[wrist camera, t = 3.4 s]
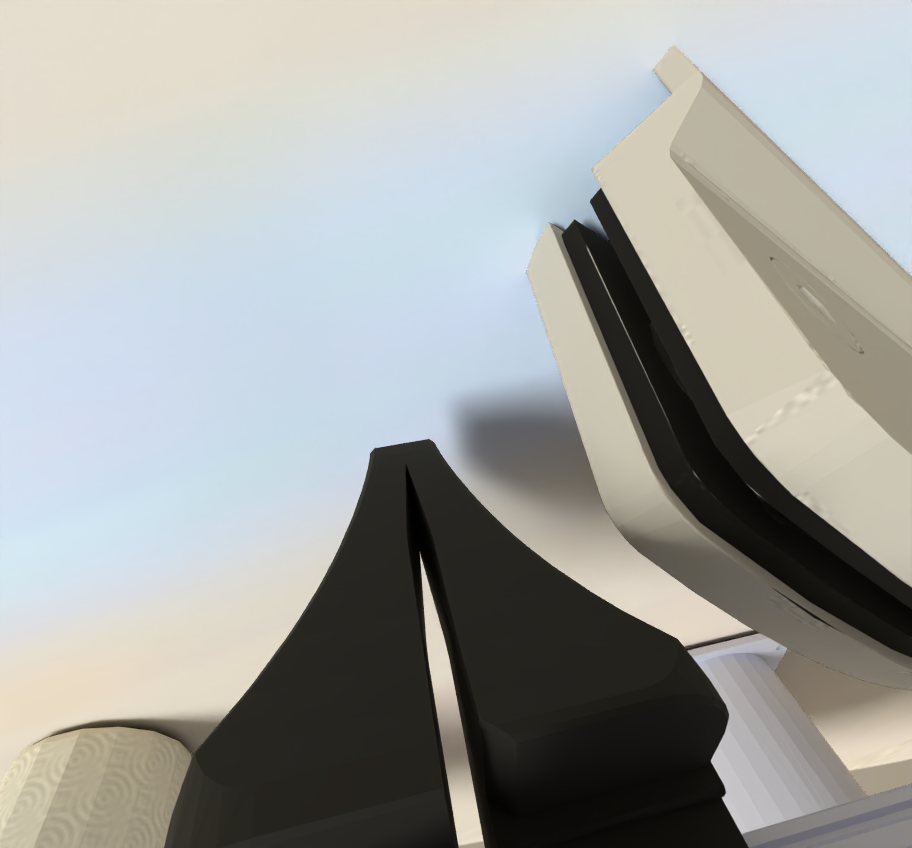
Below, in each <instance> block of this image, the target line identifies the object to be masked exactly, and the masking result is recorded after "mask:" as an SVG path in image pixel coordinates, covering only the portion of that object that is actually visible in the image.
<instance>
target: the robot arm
mask: <svg viewBox="0 0 912 848" xmlns="http://www.w3.org/2000/svg"><path fill="white" fill-rule="evenodd" d="M420 554H421V558H422V561H423V565H424V568H425V572H426V575H427V579H428V582H429V586H430V589H431V593H432V596H433V600H434V603H435V607H436V610H437V614H438V617H439V621H440V624H441V628H442V631H443V635H444V638H445V642H446V646H447V651H448V655H449V659H450V664H451V669H452V675H453V680H454V685H455V690H456V696H457V701H458V706H459V711H460V717H461V722H462V727H463V733H464V738H465V743H466V749H467V754H468V759H469V765H470V770H471V775H472V781H473V786H474V791H475V797H476V802H477V807H478V813H479V818H480V824H481V829H482V835H483V840H484V845H485V848H912V784H908V785H905V786H902V787H898V788H895V789H892V790H888V791H885V792H881V793H878V794H874V795H871V796H868V795H867V794H866V793H865V791H864V790H863V789H862V787H861V786H860V785H859V783H858V782H857V781H856V779H855V778H854V777H853V775H852V774H851V773H850V771H849V770H848V769H847V767H846V766H845V765H844V763H843V762H842V761H841V759H840V758H839V757H838V755H837V754H836V753H835V752H834V750H833V749H832V748H831V746H830V745H829V744H828V742H827V741H826V740H825V738H824V737H823V736H822V734H821V733H820V732H819V730H818V729H817V728H816V726H815V725H814V724H813V722H812V721H811V720H810V718H809V717H808V716H807V714H806V713H805V712H804V711H803V709H802V708H801V707H800V705H799V704H798V703H797V701H796V700H795V699H794V697H793V696H792V695H791V693H790V692H789V691H788V689H787V688H786V687H785V685H784V684H783V683H782V681H781V680H780V679H779V677H778V676H777V675H776V673H775V670H776V668H777V667H778V665H779V663H780V661H781V659H782V658H783V656H784V654H785V652H786V651H787V649H788V648H786V647H784V646H782V645H781V644H779V643H777V642H775V641H773V640H771V639H770V638H768V637H766V636H764V635H762V634H761V633H758V634H754V635H750V636H746V637H741V638H737V639H733V640H729V641H725V642H721V643H716V644H712V645H708V646H704V647H700V648H696V649H691V650H686V649H685V647H684V646H683V645H682V644H681V642H680V641H679V640H678V639H677V638H675V637H673V636H671V635H669V634H667V633H665V632H663V631H661V630H659V629H657V628H655V627H653V626H651V625H649V624H647V623H645V622H643V621H641V620H639V619H637V618H635V617H634V616H632V615H630V614H628V613H626V612H624V611H622V610H620V609H619V608H617V607H615V606H614V605H612V604H610V603H609V602H607V601H605V600H604V599H602V598H600V597H599V596H597V595H595V594H594V593H592V592H590V591H589V590H587V589H586V588H585V587H583V586H582V585H580V584H579V583H577V582H576V581H574V580H573V579H571V578H570V577H568V576H567V575H565V574H564V573H562V572H561V571H559V570H558V569H556V568H555V567H553V566H552V565H551V564H549V563H548V562H547V561H545V560H544V559H543V558H542V557H540V556H539V555H538V554H536V553H535V552H534V551H532V550H531V549H530V548H529V547H528V546H526V545H525V544H524V543H523V542H522V541H520V540H519V539H518V538H517V537H516V536H514V535H513V534H512V533H511V532H510V531H509V530H508V529H507V528H505V527H504V526H503V525H502V524H501V523H500V522H499V521H498V520H497V519H496V518H495V517H494V516H493V515H492V514H491V513H490V512H489V511H488V510H487V509H486V508H485V507H484V506H483V505H482V504H481V503H480V502H479V501H478V500H477V499H476V497H475V496H474V495H473V494H472V493H471V492H470V491H469V489H468V488H467V487H466V486H465V485H464V484H463V483H462V481H461V480H460V479H459V478H458V477H457V475H456V474H455V473H454V471H453V470H452V469H451V467H450V466H449V465H448V464H447V462H446V461H445V459H444V458H443V456H442V455H441V453H440V452H439V450H438V448H437V447H436V445H435V443H434V442H433V441H431V440H430V439H427V440H421V441H415V442H409V443H403V444H397V445H391V446H386V447H380V448H374V450H373V451H372V452H371V453H370V460H369V466H368V470H367V474H366V478H365V482H364V485H363V489H362V492H361V495H360V497H359V500H358V503H357V506H356V509H355V512H354V514H353V517H352V520H351V522H350V524H349V527H348V529H347V531H346V533H345V536H344V538H343V540H342V543H341V545H340V547H339V549H338V551H337V553H336V555H335V557H334V559H333V562H332V563H331V565H330V567H329V569H328V571H327V573H326V575H325V577H324V578H323V580H322V582H321V584H320V586H319V587H318V589H317V591H316V593H315V594H314V596H313V597H312V599H311V601H310V602H309V604H308V606H307V607H306V609H305V610H304V612H303V614H302V615H301V617H300V619H299V620H298V622H297V623H296V625H295V626H294V628H293V629H292V631H291V632H290V634H289V635H288V636H287V638H286V639H285V641H284V642H283V643H282V645H281V646H280V648H279V649H278V650H277V652H276V653H275V654H274V656H273V657H272V658H271V660H270V661H269V662H268V664H267V665H266V667H265V668H264V669H263V671H262V672H261V673H260V675H259V676H258V677H257V679H256V680H255V681H254V683H253V684H252V685H251V686H250V688H249V689H248V690H247V691H246V693H245V694H244V695H243V696H242V698H241V699H240V700H239V701H238V702H237V704H236V705H235V706H234V707H233V708H232V709H231V711H230V712H229V713H228V714H227V715H226V716H225V718H224V719H223V720H222V721H221V722H220V724H219V725H218V726H217V727H216V728H215V729H214V731H213V732H212V733H211V734H210V735H209V737H208V738H207V739H206V740H205V741H204V742H203V744H202V745H201V746H200V747H199V748H198V749H197V750H196V752H195V753H194V754H193V756H192V759H191V761H190V764H189V767H188V770H187V772H186V775H185V778H184V781H183V783H182V786H181V789H180V793H179V796H178V798H177V801H176V804H175V807H174V810H173V813H172V816H171V820H170V824H169V828H168V832H167V836H166V841H165V845H164V848H459V847H458V841H457V835H456V829H455V823H454V817H453V811H452V804H451V798H450V792H449V786H448V780H447V774H446V768H445V761H444V755H443V749H442V743H441V737H440V731H439V724H438V718H437V712H436V706H435V700H434V694H433V687H432V681H431V675H430V669H429V662H428V654H427V645H426V632H425V618H424V605H423V591H422V577H421V564H420Z"/></svg>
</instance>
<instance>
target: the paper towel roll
mask: <svg viewBox="0 0 912 848" xmlns="http://www.w3.org/2000/svg"><path fill="white" fill-rule="evenodd" d="M191 759H192V757H191V753H190V752H189V751H188V750H187V749H186V748H185V747H184V746H183V745H182V744H181V743H180V742H179V741H177V740H175V739H172V738H170V737H167V736H165V735H162V734H160V733H157V732H155V731H148V730H141V729H133V728H126V727H106V728H88V729H80V730H76V731H71V732H67V733H63V734H59V735H55V736H51V737H47V738H46V739H44V740H42V741H40V742H38V743H36V744H35V745H33V746H31V747H29V748H27V749H26V750H24V751H22V752H21V754H20V755H19V756H18V757H17V759H16V760H15V762H14V763H13V765H12V766H11V768H10V769H9V771H8V772H7V774H6V776H5V778H4V780H3V782H2V784H1V786H0V848H164V845H165V841H166V836H167V832H168V828H169V824H170V820H171V816H172V813H173V810H174V807H175V804H176V801H177V798H178V796H179V793H180V789H181V786H182V783H183V781H184V778H185V775H186V772H187V770H188V767H189V764H190V761H191Z"/></svg>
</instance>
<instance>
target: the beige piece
mask: <svg viewBox="0 0 912 848" xmlns="http://www.w3.org/2000/svg"><path fill="white" fill-rule="evenodd" d="M653 71H654V72H655V73H656V75H657V76H658V77H659V78H660V80H661V81H662V82H663V83H664V85H665V86H666V87H667V88H668V89H669V91H670V92H671V93H672V95H671V96H670V97H669V98H668V99H667V100H665V101H664V102H663V103H662V104H661V105H660V106H659V107H658V108H657V109H656V110H655V111H654V112H653V113H651V114H650V115H649V116H648V117H647V118H646V119H645V120H644V121H643V122H642V123H641V124H640V125H639V126H637V127H636V128H635V129H634V130H633V131H632V132H631V133H630V134H629V135H628V136H627V137H626V138H625V139H623V140H622V141H621V142H620V143H619V144H618V145H617V146H616V147H615V148H614V149H613V150H612V151H610V152H609V153H608V154H607V155H606V156H605V157H604V158H603V159H602V160H601V161H600V162H599V163H598V164H596V165H595V166H594V167H593V168H592V169H591V170H592V172H593V174H594V176H595V178H596V179H597V181H598V183H599V185H600V187H601V188H600V190H599V191H598V192H597V193H596V194H595V195H594V197H593V198H592V199H591V200H590V203H591V205H592V207H593V209H594V211H595V213H596V215H597V217H598V219H599V220H600V222H601V224H602V226H603V228H604V230H605V232H606V234H607V236H608V238H609V240H610V242H611V244H610V243H609V242H607V241H606V240H604V239H603V238H601V237H600V236H598V235H597V234H596V233H594V232H593V231H591V230H590V229H588V228H587V227H585V226H584V225H582V224H581V223H579V222H578V221H576V220H574V221H573V222H572V223H571V224H570V225H569V227H568V228H567V229H566V230H565V231H562V230H561V229H559V228H557V227H556V226H554V225H553V224H551V223H549V222H548V224H547V226H546V228H545V230H544V232H543V233H542V235H541V237H540V239H539V241H538V243H537V245H536V247H535V248H534V251H533V253H532V256H531V259H530V262H529V265H528V267H527V270H526V272H527V275H528V278H529V281H530V284H531V287H532V290H533V293H534V296H535V299H536V302H537V305H538V308H539V311H540V314H541V317H542V320H543V323H544V327H545V330H546V333H547V336H548V339H549V342H550V345H551V348H552V351H553V354H554V357H555V360H556V363H557V366H558V369H559V372H560V375H561V378H562V381H563V384H564V387H565V390H566V393H567V396H568V399H569V402H570V405H571V408H572V411H573V414H574V417H575V420H576V423H577V426H578V429H579V432H580V435H581V439H582V442H583V445H584V448H585V451H586V454H587V457H588V460H589V463H590V466H591V469H592V472H593V475H594V478H595V481H596V484H597V487H598V490H599V493H600V496H601V499H602V501H603V504H604V506H605V508H606V511H607V513H608V514H609V516H610V518H611V519H612V521H613V523H614V524H615V526H616V527H617V529H618V530H619V531H620V533H621V534H622V535H623V536H624V538H625V539H626V540H627V541H628V542H629V543H630V544H631V545H632V546H633V547H634V548H635V549H636V550H637V551H638V552H640V553H641V554H642V555H644V556H645V557H646V558H648V559H649V560H651V561H652V562H653V563H655V564H656V565H657V566H659V567H660V568H662V569H663V570H664V571H666V572H667V573H668V574H670V575H671V576H673V577H674V578H675V579H677V580H678V581H679V582H681V583H682V584H684V585H685V586H686V587H688V588H689V589H690V590H692V591H693V592H695V593H696V594H698V595H699V596H701V597H703V598H704V599H706V600H707V601H709V602H710V603H712V604H713V605H715V606H717V607H718V608H720V609H721V610H723V611H724V612H726V613H727V614H729V615H731V616H732V617H734V618H735V619H737V620H738V621H740V622H741V623H743V624H745V625H746V626H748V627H750V628H751V629H753V630H755V631H757V632H759V633H761V634H762V635H764V636H766V637H768V638H770V639H771V640H773V641H775V642H777V643H779V644H781V645H782V646H784V647H786V648H788V649H790V650H792V651H794V652H796V653H798V654H800V655H802V656H805V657H807V658H809V659H811V660H813V661H815V662H817V663H819V664H821V665H823V666H825V667H827V668H830V669H833V670H835V671H838V672H841V673H844V674H846V675H849V676H852V677H855V678H857V679H860V680H863V681H867V682H870V683H874V684H878V685H882V686H885V687H891V688H898V689H905V690H912V277H911V276H910V275H909V274H908V273H907V272H906V271H905V270H904V269H903V268H902V267H901V266H900V265H899V264H898V263H897V262H896V261H895V260H894V259H893V258H892V257H891V256H890V255H889V254H888V253H887V252H886V251H885V250H884V249H883V248H882V247H881V246H880V245H878V244H877V243H876V242H875V241H874V240H873V239H872V238H871V237H870V236H869V235H868V234H867V233H866V232H865V231H864V230H863V229H862V228H861V227H860V226H859V225H858V224H857V223H856V222H855V221H854V220H853V219H852V218H851V217H850V216H849V215H848V214H847V213H846V212H845V211H844V210H843V209H842V208H841V207H840V206H838V205H837V204H836V203H835V202H834V201H833V200H832V199H831V198H830V197H829V196H828V195H827V194H826V193H825V192H824V191H823V190H822V189H821V188H820V187H819V186H818V185H817V184H816V183H815V182H814V181H813V180H812V179H811V178H810V177H809V176H808V175H807V174H806V173H805V172H804V171H803V170H802V169H801V168H800V167H798V166H797V165H796V164H795V163H794V162H793V161H792V160H791V159H790V158H789V157H788V156H787V155H786V154H785V153H784V152H783V151H782V150H781V149H780V148H779V147H778V146H777V145H776V144H775V143H774V142H773V141H772V140H771V139H770V138H769V137H768V136H767V135H766V134H765V133H764V132H763V131H762V130H761V129H760V128H758V127H757V126H756V125H755V124H754V123H753V122H752V121H751V120H750V119H749V118H748V117H747V116H746V115H745V114H744V113H743V112H742V111H741V110H740V109H739V108H738V107H737V106H736V105H735V104H734V103H733V102H732V101H731V100H730V99H729V98H728V97H727V96H726V95H725V94H724V93H723V92H722V91H721V90H720V89H718V88H717V87H716V86H715V85H714V84H713V83H712V82H711V81H710V80H709V79H708V78H707V77H706V76H705V75H704V74H703V73H702V72H701V71H700V70H699V69H698V68H697V67H696V66H695V65H694V64H693V63H692V62H691V61H690V60H689V59H688V58H687V57H685V56H684V55H683V54H682V53H681V52H680V51H679V50H678V49H677V48H676V47H675V46H674V45H673V46H672V47H671V48H670V49H669V50H668V51H667V52H666V53H665V55H664V56H663V57H662V58H661V60H660V61H659V62H658V63H657V65H656V66H655V67H654V68H653Z"/></svg>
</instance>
